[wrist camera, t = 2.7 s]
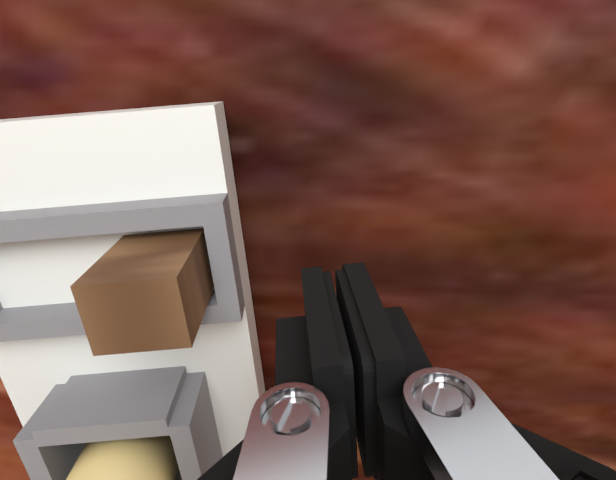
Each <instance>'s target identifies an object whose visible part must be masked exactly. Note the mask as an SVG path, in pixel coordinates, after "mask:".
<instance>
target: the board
mask: <svg viewBox="0 0 616 480" xmlns="http://www.w3.org/2000/svg"><path fill="white" fill-rule="evenodd" d="M202 228H204V234H205V239H206V244H207V250H208V255H209V261H210V266H211V272H212V277H213V283H214V289H213V291H212V294H211V297H210V300H209V302H208V305H207V308H206V310H205V313H204V316H203V319H202V321H201V324H200V327H199V330H198V332H197V335H196V338H195V341H194V343H193V346H192V348H182V349H170V350H159V351H147V352H135V353H124V354H112V355H100V356H93V354H92V351H91V348H90V345H89V342H88V339H87V336H86V333H85V330H84V327H83V324H82V321H81V318H80V315H79V312H78V309H77V306H76V303H75V300H74V297H73V294H72V291H71V288H70V286H71V285H72V284H73V283H74V282H75V281H76V280H77V279H78V278H80V277H81V276H82V275H83V274H84V273H85V272H86V271H87V270H88V269H89V268H90V267H91V266H92V265H93V264H94V263H95V262H96V261H97V260H98V259H99V258H101V257H102V256H103V255H104V254H105V253H106V252H107V251H108V250H109V249H110V248H111V247H112V246H113V245H114V244H115V243H116V242H117V241H118V240H119V239H120V238H122V237H123V236H124V235H130V234H142V233H154V232H166V231H178V230H190V229H202ZM0 377H1V379H2V381H3V384H4V386H5V388H6V390H7V392H8V395H9V397H10V399H11V401H12V404H13V406H14V408H15V410H16V412H17V415H18V417H19V419H20V421H21V423H22V426H23V428H22V429H21V431H20V432H19V433H18V435H17V436H16V437H15V439H14V440H13V443H14V445H15V447H16V449H17V451H18V453H19V456H20V458H21V460H22V462H23V464H24V466H25V468H26V470H27V473H28V475H29V477H30V479H31V480H197V479H198V478H199V477H200V476H202V475H203V474H204V473H205V472H206V471H207V470H209V469H210V468H211V467H212V466H213V465H214V464H215V463H217V462H218V461H219V460H220V459H221V458H222V457H223V456H225V455H226V454H227V453H228V452H229V451H230V450H232V449H233V448H234V447H235V446H236V445H237V444H238V443H240V442H241V441H242V440H243V439H244V437H245V433H246V430H247V426H248V422H249V419H250V415H251V411H252V408H253V406H254V404H255V402H256V400H257V399H258V398H259V397H260V396H261V395H262V394H263V393H264V392H265V385H264V378H263V372H262V365H261V358H260V351H259V344H258V337H257V330H256V324H255V317H254V310H253V303H252V296H251V289H250V282H249V276H248V269H247V262H246V255H245V248H244V241H243V234H242V228H241V221H240V214H239V207H238V200H237V193H236V186H235V180H234V173H233V166H232V159H231V152H230V145H229V138H228V132H227V125H226V118H225V111H224V104H223V101H221V102H209V103H197V104H185V105H172V106H160V107H148V108H135V109H123V110H111V111H99V112H86V113H74V114H62V115H49V116H37V117H25V118H12V119H0Z"/></svg>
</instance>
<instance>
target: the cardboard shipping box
mask: <svg viewBox="0 0 616 480" xmlns="http://www.w3.org/2000/svg"><path fill="white" fill-rule="evenodd" d="M70 288H71V291H72V294H73V297H74V300H75V303H76V306H77V309H78V312H79V315H80V318H81V321H82V324H83V327H84V330H85V333H86V336H87V339H88V342H89V345H90V348H91V351H92V354H93V356H100V355H112V354H124V353H135V352H147V351H159V350H170V349H182V348H192V346H193V343H194V341H195V338H196V335H197V332H198V330H199V327H200V324H201V321H202V319H203V316H204V313H205V310H206V308H207V305H208V302H209V300H210V297H211V294H212V291H213V289H214V283H213V277H212V272H211V266H210V261H209V255H208V250H207V244H206V239H205V234H204V228H202V229H190V230H178V231H166V232H154V233H142V234H130V235H124V236H123V237H122V238H120V239H119V240H118V241H117V242H116V243H115V244H114V245H113V246H112V247H111V248H110V249H109V250H108V251H107V252H106V253H105V254H104V255H103V256H102V257H101V258H99V259H98V260H97V261H96V262H95V263H94V264H93V265H92V266H91V267H90V268H89V269H88V270H87V271H86V272H85V273H84V274H83V275H82V276H81V277H80V278H78V279H77V280H76V281H75V282H74V283H73V284H72V285H71V286H70Z"/></svg>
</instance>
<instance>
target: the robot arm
mask: <svg viewBox="0 0 616 480" xmlns="http://www.w3.org/2000/svg"><path fill="white" fill-rule="evenodd" d="M301 273H302V285H303V296H304V307H305V316H301V317H291V318H281V319H276V368H275V386H274V387H272V388H270V389H269V390H267V391H266V392H264V393H263V394H262V395H261V396H260V397H259V398H258V399H257V400H256V402H255V404H254V406H253V408H252V411H251V415H250V419H249V422H248V426H247V430H246V433H245V437H244V439H243V440H242V441H241V442H240V443H238V444H237V445H236V446H235V447H234V448H233V449H232V450H230V451H229V452H228V453H227V454H226V455H225V456H223V457H222V458H221V459H220V460H219V461H218V462H217V463H215V464H214V465H213V466H212V467H211V468H210V469H209V470H207V471H206V472H205V473H204V474H203V475H202V476H200V477H199V478H198V479H197V480H352V478H358V466H357V442H358V446H359V451H360V456H361V461H362V465H363V470H364V474H365V477H370V476H374V478H375V480H616V471H614V470H613V469H611V468H609V467H607V466H605V465H603V464H600V463H598V462H596V461H594V460H592V459H589V458H587V457H585V456H583V455H581V454H579V453H576V452H574V451H572V450H570V449H568V448H565V447H563V446H561V445H559V444H557V443H554V442H552V441H550V440H548V439H546V438H543V437H541V436H539V435H537V434H535V433H532V432H530V431H528V430H526V429H524V428H521V427H519V426H517V425H515V424H513V423H510V422H509V421H508V420H507V419H506V417H505V416H504V415H503V414H502V413H501V412H500V411H499V409H498V408H497V407H496V406H495V405H494V404H493V402H492V401H491V400H490V399H489V398H488V397H487V395H486V394H485V393H484V392H483V391H482V390H481V389H480V387H479V386H478V385H477V384H476V383H475V382H473V381H472V380H471V379H470V378H469V377H467V376H465V375H463V374H461V373H459V372H457V371H453V370H450V369H446V368H437V367H434V368H433V367H432V365H431V363H430V361H429V359H428V357H427V355H426V353H425V351H424V350H423V348H422V346H421V344H420V342H419V340H418V338H417V336H416V334H415V332H414V330H413V328H412V327H411V325H410V323H409V321H408V319H407V317H406V315H405V313H404V311H403V310H402V308H401V307H391V308H384V307H383V305H382V302H381V300H380V298H379V296H378V294H377V291H376V289H375V287H374V285H373V282H372V280H371V278H370V276H369V273H368V271H367V269H366V267H365V264H364V263H352V264H343V269H342V270H336V273H335V274H336V293H337V298H336V294H335V290H334V286H333V282H332V278H331V274H330V271H325V272H322V268H321V267H311V268H301ZM356 437H357V441H356Z"/></svg>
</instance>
